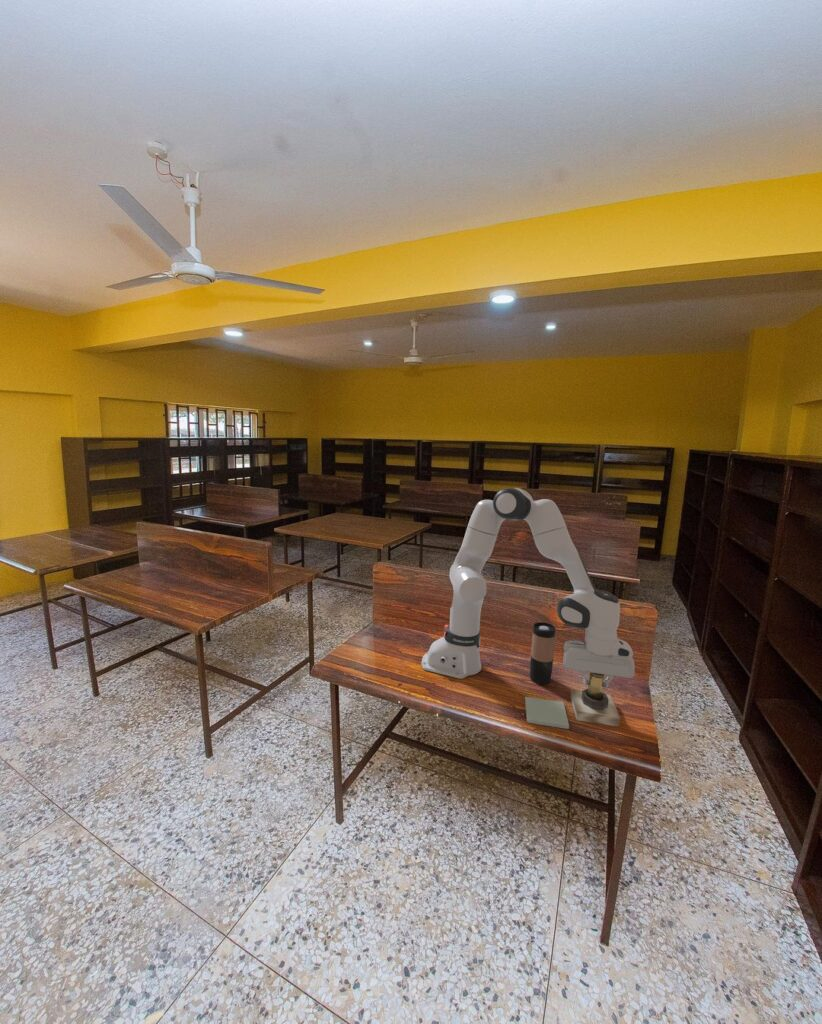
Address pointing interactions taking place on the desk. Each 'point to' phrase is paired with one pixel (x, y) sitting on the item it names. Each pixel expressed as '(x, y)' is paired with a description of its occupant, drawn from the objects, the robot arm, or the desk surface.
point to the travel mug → (542, 653)
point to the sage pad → (546, 712)
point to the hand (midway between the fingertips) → (595, 685)
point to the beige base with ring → (594, 708)
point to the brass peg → (595, 686)
